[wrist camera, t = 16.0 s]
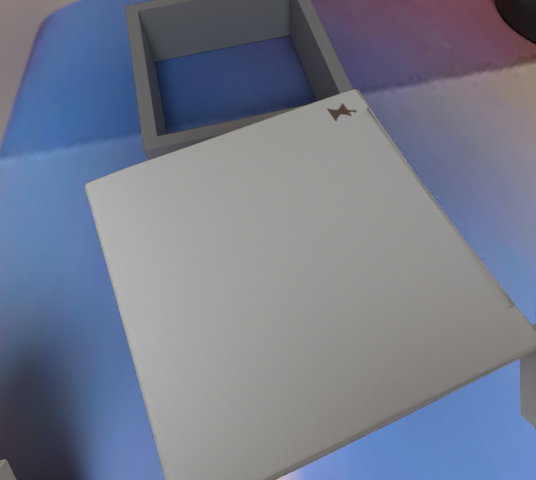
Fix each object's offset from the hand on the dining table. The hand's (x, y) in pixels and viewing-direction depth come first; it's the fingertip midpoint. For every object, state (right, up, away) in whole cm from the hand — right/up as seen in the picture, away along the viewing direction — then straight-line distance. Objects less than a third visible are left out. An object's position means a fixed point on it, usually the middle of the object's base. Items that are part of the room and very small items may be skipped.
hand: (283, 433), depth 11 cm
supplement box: (+1, -3, +15) cm, 15 cm away
